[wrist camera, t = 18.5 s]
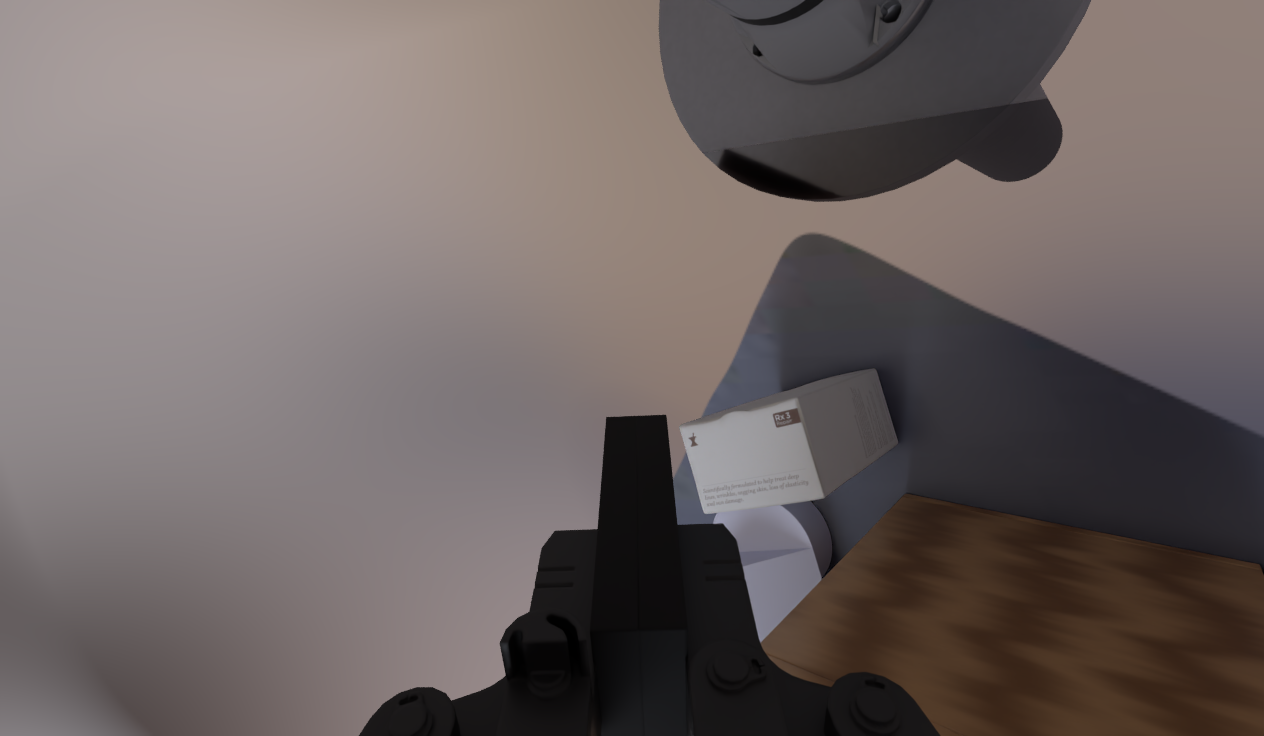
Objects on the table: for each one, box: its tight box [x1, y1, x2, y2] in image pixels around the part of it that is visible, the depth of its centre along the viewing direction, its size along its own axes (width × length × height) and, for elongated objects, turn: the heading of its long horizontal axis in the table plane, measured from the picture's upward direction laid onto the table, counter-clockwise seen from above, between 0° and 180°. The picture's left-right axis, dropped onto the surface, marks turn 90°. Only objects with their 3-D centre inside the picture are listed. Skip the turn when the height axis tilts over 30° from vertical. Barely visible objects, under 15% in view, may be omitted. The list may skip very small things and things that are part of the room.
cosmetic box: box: [679, 368, 898, 514], centre depth 41 cm, size 8×6×15 cm
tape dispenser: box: [713, 501, 832, 643], centre depth 48 cm, size 9×7×13 cm
